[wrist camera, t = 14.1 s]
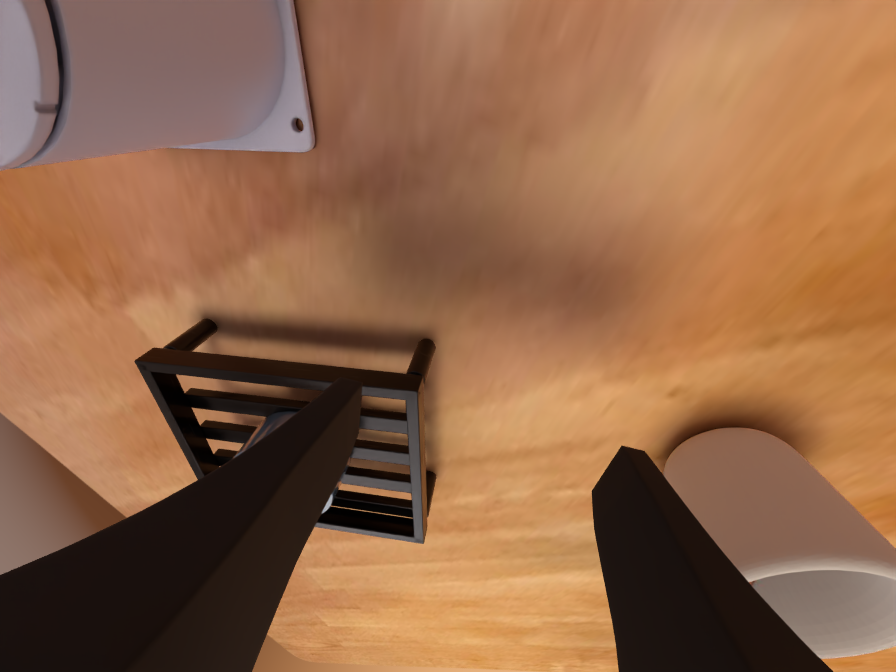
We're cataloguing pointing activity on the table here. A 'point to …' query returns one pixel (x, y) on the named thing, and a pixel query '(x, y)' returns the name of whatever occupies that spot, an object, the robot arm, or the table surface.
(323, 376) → the rack
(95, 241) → the table surface
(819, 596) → the cup
